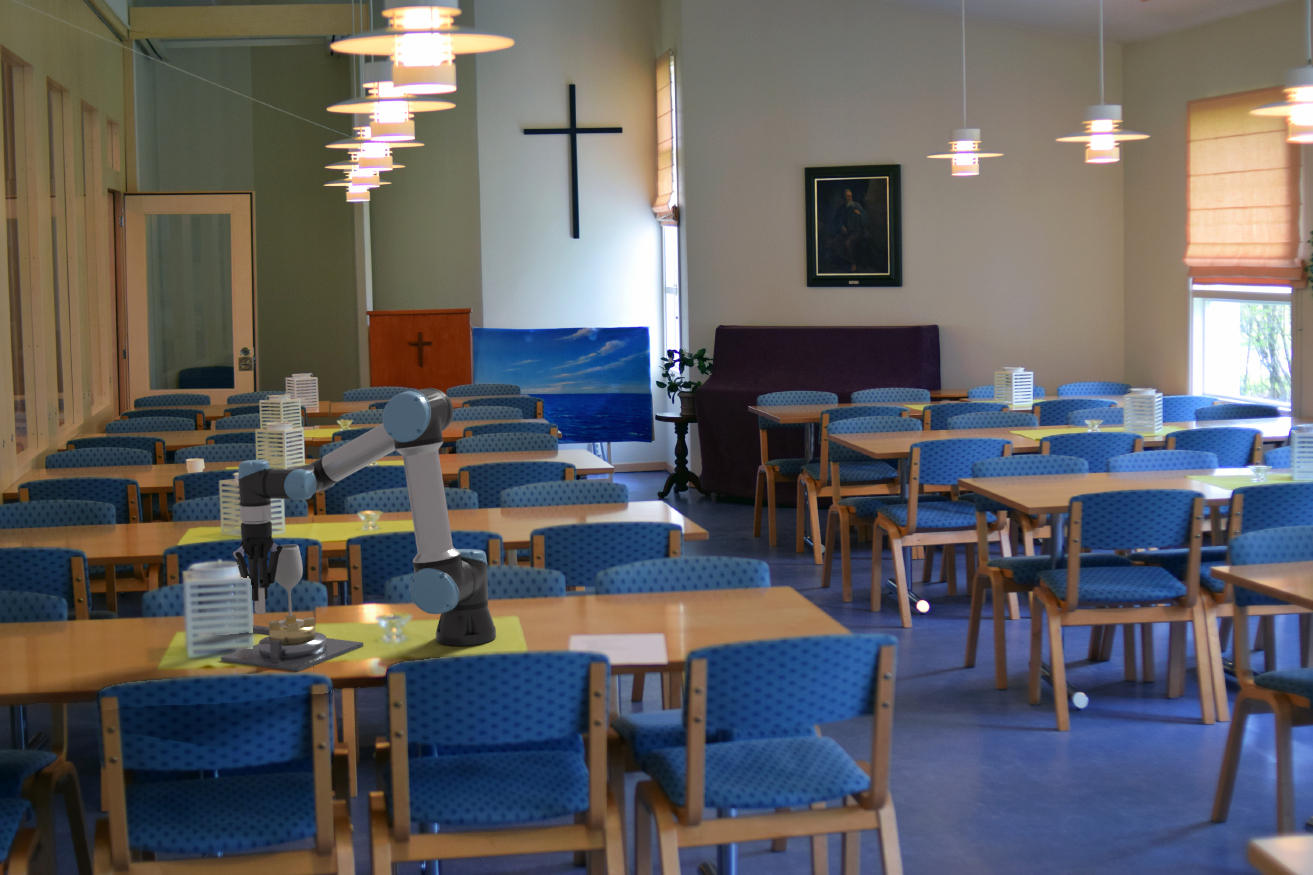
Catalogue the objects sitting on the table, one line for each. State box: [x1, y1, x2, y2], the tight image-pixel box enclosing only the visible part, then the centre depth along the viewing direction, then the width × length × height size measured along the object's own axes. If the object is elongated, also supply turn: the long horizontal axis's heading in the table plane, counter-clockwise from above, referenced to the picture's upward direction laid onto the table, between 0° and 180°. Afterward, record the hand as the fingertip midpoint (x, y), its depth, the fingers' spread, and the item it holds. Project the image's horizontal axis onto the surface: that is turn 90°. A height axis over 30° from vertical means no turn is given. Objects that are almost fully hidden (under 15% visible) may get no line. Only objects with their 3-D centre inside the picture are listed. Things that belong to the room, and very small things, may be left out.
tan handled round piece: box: [252, 614, 316, 644], centre depth 325 cm, size 23×11×7 cm, turn 64°
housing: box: [220, 631, 364, 672], centre depth 322 cm, size 24×24×6 cm
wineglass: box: [275, 544, 304, 623], centre depth 353 cm, size 8×8×21 cm
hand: (260, 612), depth 333 cm, fingers closed
